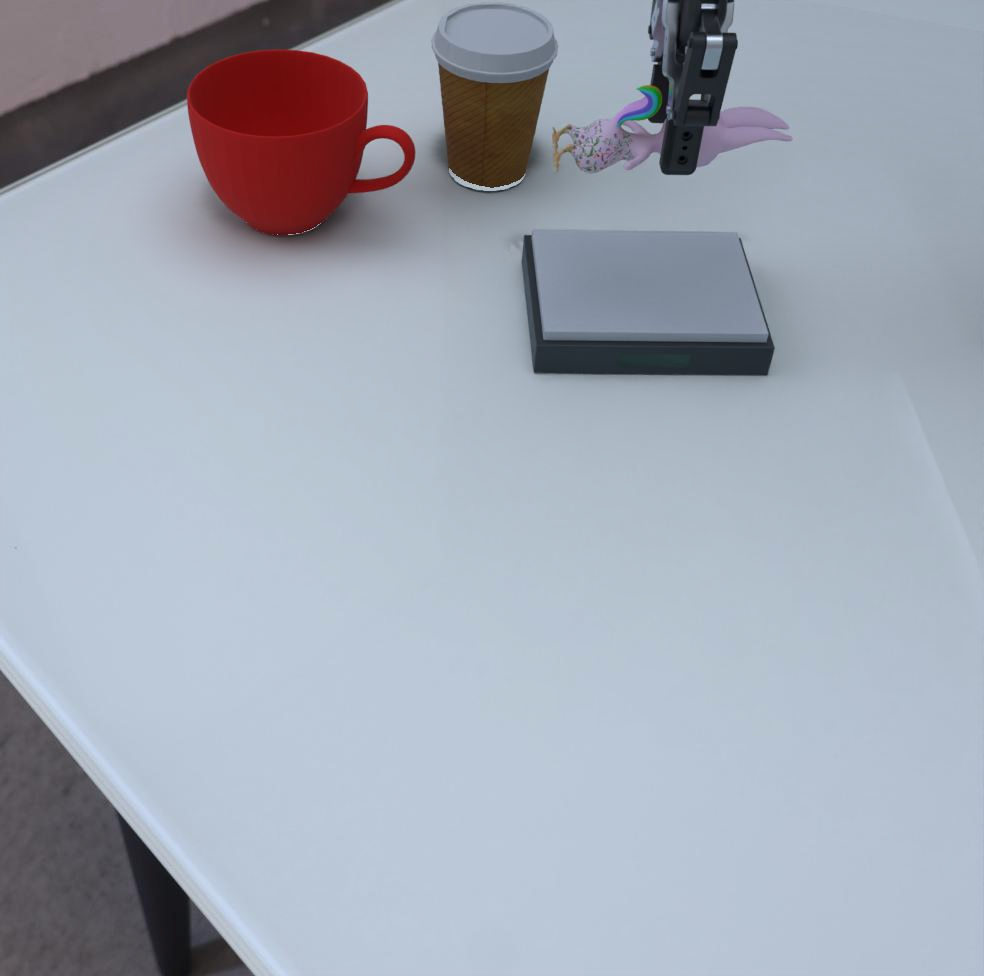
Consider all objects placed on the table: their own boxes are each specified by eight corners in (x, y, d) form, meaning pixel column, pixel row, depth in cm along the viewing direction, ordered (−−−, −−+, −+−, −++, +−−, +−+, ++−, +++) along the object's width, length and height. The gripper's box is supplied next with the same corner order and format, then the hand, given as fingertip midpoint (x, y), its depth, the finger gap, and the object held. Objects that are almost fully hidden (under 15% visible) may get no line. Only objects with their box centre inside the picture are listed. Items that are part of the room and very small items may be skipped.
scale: (734, 264, 98) (743, 227, 96) (767, 375, 89) (778, 338, 87) (521, 261, 97) (524, 224, 95) (533, 373, 89) (537, 335, 86)
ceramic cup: (382, 288, 95) (382, 164, 87) (170, 239, 98) (153, 116, 91) (440, 196, 103) (444, 77, 96) (243, 154, 107) (233, 36, 99)
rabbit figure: (556, 207, 83) (797, 183, 82) (549, 121, 79) (803, 94, 77) (553, 155, 88) (782, 132, 86) (546, 71, 83) (787, 45, 82)
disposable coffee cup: (471, 129, 110) (478, -12, 102) (568, 166, 107) (583, 23, 98) (404, 176, 105) (406, 31, 96) (503, 217, 101) (514, 70, 93)
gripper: (814, -80, 67) (747, 209, 79) (760, -180, 76) (709, 91, 89) (667, -84, 66) (623, 207, 78) (633, -183, 76) (599, 89, 88)
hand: (669, 144), depth 84 cm, fingers closed on rabbit figure, 5 cm apart
